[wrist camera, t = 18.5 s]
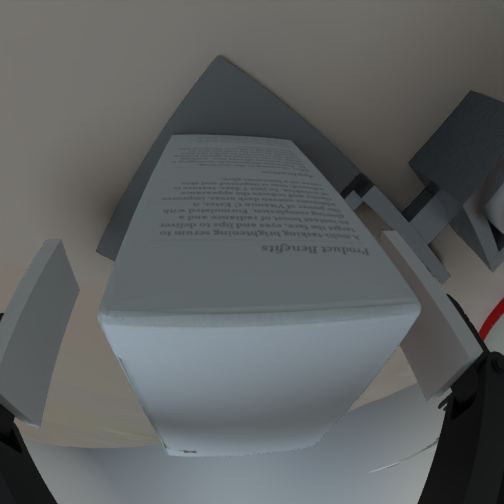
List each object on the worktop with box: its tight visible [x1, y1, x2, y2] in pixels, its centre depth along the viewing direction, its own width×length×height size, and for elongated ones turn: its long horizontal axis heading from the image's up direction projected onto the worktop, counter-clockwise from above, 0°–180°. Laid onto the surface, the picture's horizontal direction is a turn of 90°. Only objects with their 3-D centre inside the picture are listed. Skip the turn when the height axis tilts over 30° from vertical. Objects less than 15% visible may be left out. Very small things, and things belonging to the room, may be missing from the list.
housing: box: [340, 91, 504, 284], centre depth 18 cm, size 12×31×5 cm, turn 142°
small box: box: [98, 134, 422, 456], centre depth 11 cm, size 8×6×10 cm
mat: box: [96, 55, 360, 261], centre depth 15 cm, size 9×12×1 cm
